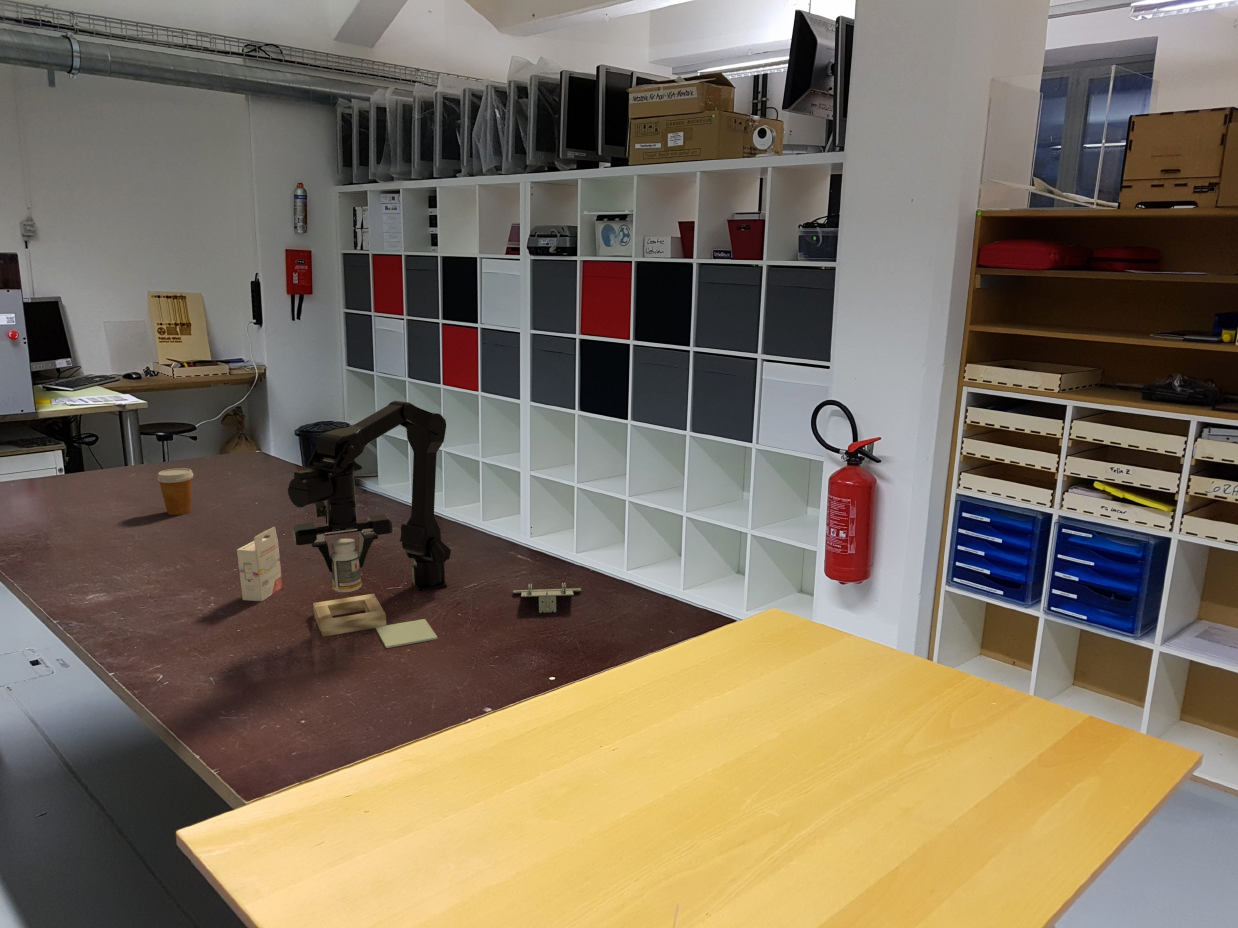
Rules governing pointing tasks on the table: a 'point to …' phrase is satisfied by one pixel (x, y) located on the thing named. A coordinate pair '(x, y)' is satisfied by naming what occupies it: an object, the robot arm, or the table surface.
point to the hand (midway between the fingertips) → (345, 569)
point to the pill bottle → (345, 566)
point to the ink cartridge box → (260, 567)
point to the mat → (406, 633)
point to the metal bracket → (547, 596)
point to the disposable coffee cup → (176, 490)
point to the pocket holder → (352, 622)
